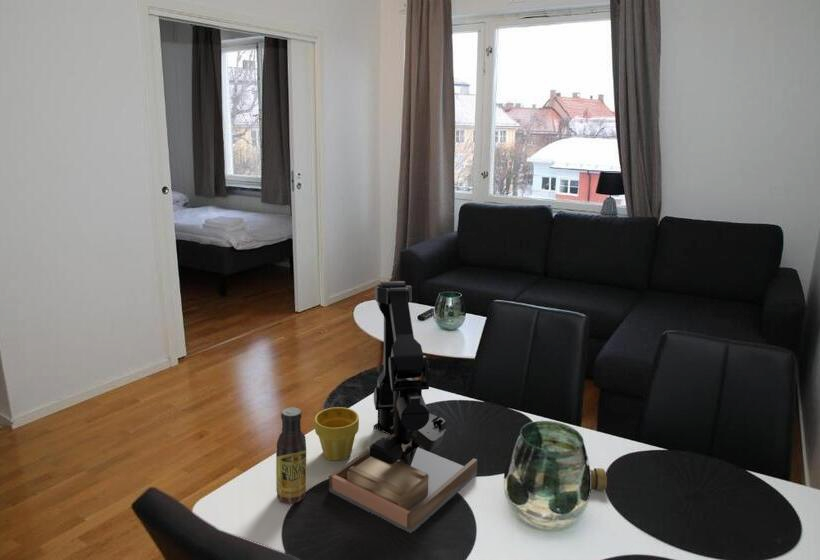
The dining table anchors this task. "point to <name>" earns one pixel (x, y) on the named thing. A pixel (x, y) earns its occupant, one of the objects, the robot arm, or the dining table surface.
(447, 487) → the bay
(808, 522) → the dining table surface
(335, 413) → the plant pot
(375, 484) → the brown wooden box
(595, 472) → the gavel
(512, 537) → the dining table surface
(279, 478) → the sauce bottle
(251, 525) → the dining table surface
